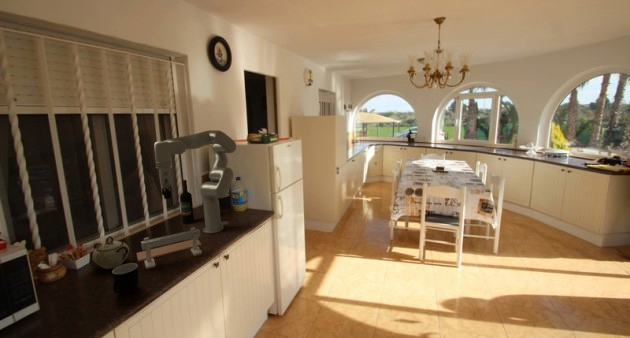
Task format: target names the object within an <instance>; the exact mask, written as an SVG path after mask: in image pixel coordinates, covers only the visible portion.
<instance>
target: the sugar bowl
mask: <svg viewBox="0 0 630 338" xmlns="http://www.w3.org/2000/svg"><path fill="white" fill-rule="evenodd" d="M109 239H110V240H109ZM93 250H94V251H93V252H92V256H91V259H92V261H93V262H94V263H95V264H96V265H97V266H99V267H100V268H102V269H105V270H109V269H110V270H111V269H115V268H116V267H118V266H121V265H124V264H123V263H124V261H125V260H126V259H127V257H128V255H129V252H130V247H129V246H128V244H127V243H125V242H123V241H121V240H114V238H113V237H112V235H111V236H110V235H109V236H107V238H106V239H105V243H99V242H96V243H94V244H93Z"/></svg>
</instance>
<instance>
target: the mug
mask: <svg viewBox="0 0 630 338" xmlns="http://www.w3.org/2000/svg"><path fill="white" fill-rule="evenodd" d="M138 266H139V265H138V264H137V263H133V262H129V263H125V264H121V265H120V266H118V267H115V268H113V269H112V271H111V274H112V279H113V286H112V290H113V292H114V293H115V294H119V295H122V296H125V295H130V294H133V293H134V292H135V291H137V289H138V288H139V287H138V286H139V276H140V275H139V267H138Z"/></svg>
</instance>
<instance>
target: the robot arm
mask: <svg viewBox="0 0 630 338" xmlns="http://www.w3.org/2000/svg"><path fill="white" fill-rule="evenodd" d="M210 145H211V148H212V152H213V155H214V161H213V164H212V165H211V168H210V170H209V172H208V173H209V174H208V178H209V180H211V181H205V182H203V183H202V184H201V186H200V188H199V189H200V190H199V191H200V195H201V198H202V203H203V205H204V216H203V217H204V225H205V227H203V228H202V232H203V233H205V234H215V233H219V232H222V231H223V230H224V226H226V225H229V221H225V220H224V221H221V210H220V200H219V199H223V198H226V196H227V195H228V193H229V190H230V188H231V186H232V183H233V179H234V171H233V169H232V168H230V167H228V163H229V159H228V157H227V156H228V155H227V154H232V153H234V152H236V150H237V143H236V142H235V140H234V139H232V137H230V136H229V135H227V133H225V132H224V131H221V130H214V129H213V130H211V129H210V130H204V131H201V132H198V133H194V134H189V135H188V134H187V135H184V136H177V137H174V138H170V139H165V140H162V141H156V142H154V147H153V149H154V156H155V158H154V159H155V169H157V170H158V175H159V182H160V186H161V195H162V196H163V199H164V200H170V199H172V193H171V187H173V180H172V171H171V169H172V168H173V162H172V161H173V160H172V155H183V154H184V153H186V151H187V150H195V149H200V148H204V147H206V146H210Z"/></svg>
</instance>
